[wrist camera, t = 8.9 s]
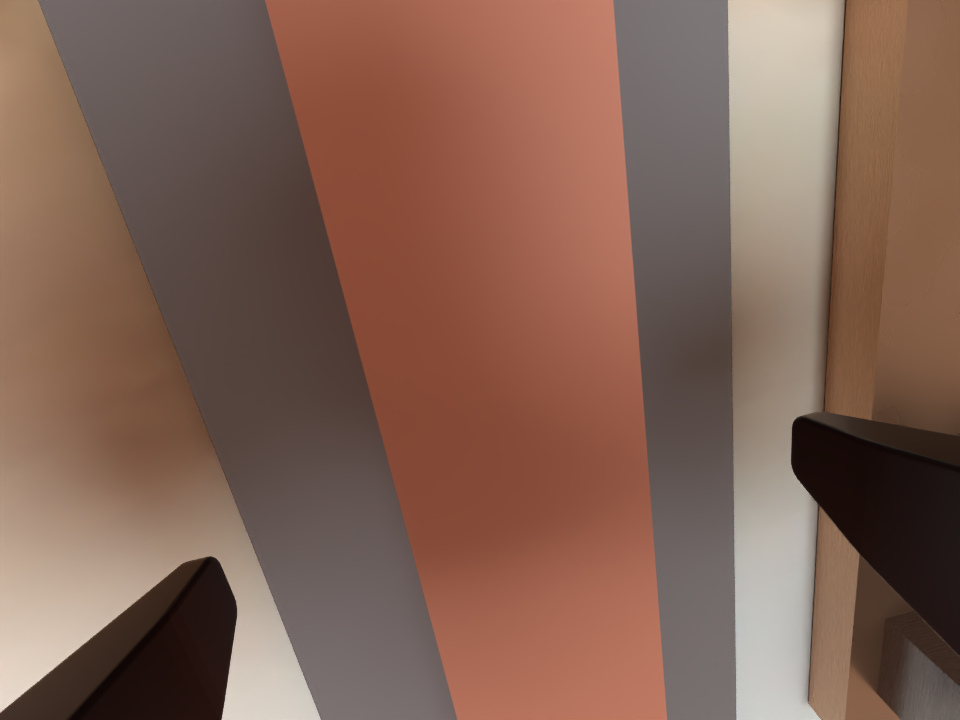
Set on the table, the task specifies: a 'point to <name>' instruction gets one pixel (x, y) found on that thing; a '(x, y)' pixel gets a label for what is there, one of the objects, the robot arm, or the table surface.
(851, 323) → the rail rack
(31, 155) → the table surface
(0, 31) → the table surface
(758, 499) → the table surface
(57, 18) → the slate mat
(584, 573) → the rail
